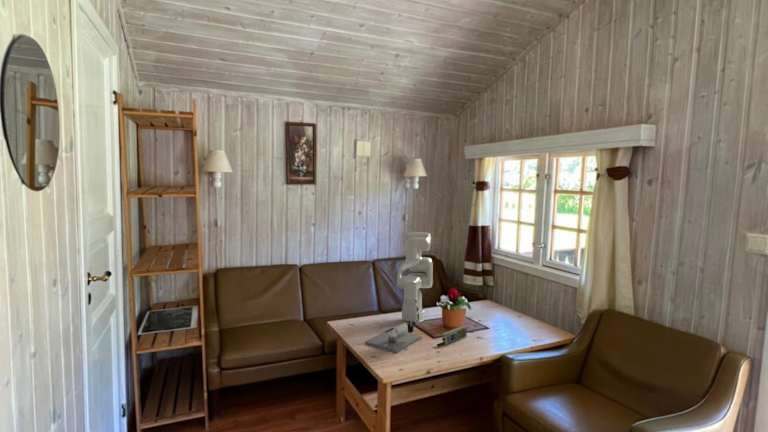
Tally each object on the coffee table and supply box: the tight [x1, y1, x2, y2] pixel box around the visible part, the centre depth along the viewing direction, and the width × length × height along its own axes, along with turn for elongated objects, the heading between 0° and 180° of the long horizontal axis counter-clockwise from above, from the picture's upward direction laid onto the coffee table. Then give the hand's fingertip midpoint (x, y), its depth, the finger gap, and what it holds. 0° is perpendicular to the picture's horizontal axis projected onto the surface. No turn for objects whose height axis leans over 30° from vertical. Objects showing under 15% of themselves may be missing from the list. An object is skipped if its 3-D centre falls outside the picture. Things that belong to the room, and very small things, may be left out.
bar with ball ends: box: [384, 321, 408, 343], centre depth 250 cm, size 25×5×8 cm, turn 143°
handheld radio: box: [436, 325, 468, 347], centre depth 250 cm, size 7×3×25 cm
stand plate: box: [364, 330, 423, 354], centre depth 250 cm, size 26×22×2 cm
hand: (410, 332), depth 248 cm, fingers closed
